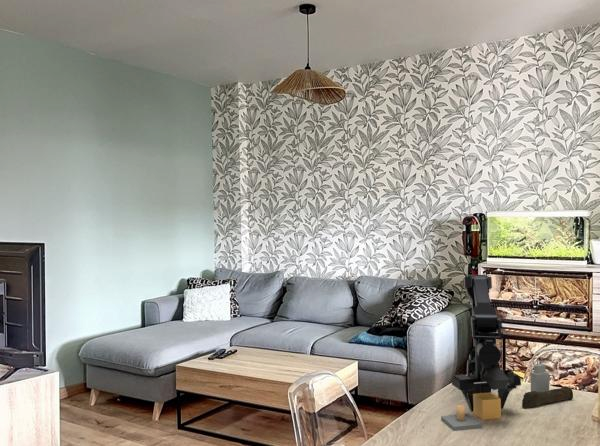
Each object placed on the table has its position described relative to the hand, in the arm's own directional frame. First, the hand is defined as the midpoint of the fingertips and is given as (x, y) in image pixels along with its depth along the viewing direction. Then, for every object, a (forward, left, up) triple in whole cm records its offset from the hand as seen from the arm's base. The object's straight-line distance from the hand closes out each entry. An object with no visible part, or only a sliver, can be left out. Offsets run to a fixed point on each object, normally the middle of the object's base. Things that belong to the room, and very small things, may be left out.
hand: (486, 410), depth 160 cm
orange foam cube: (0, 0, -2) cm, 2 cm away
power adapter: (-12, +25, -2) cm, 28 cm away
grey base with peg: (+4, -10, -2) cm, 11 cm away
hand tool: (-4, +22, -2) cm, 23 cm away
